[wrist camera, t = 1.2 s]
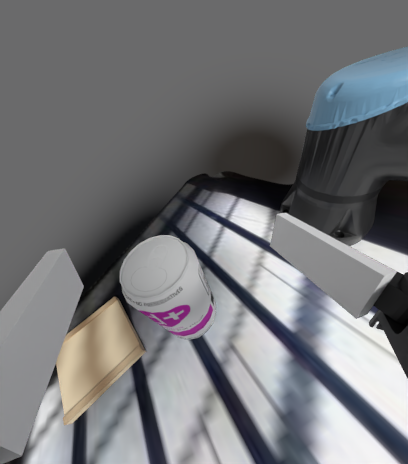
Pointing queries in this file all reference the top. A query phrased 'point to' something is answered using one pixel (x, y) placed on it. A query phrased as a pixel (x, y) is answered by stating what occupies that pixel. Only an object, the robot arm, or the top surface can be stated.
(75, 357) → the trivet
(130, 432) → the top surface
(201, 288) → the supplement can
